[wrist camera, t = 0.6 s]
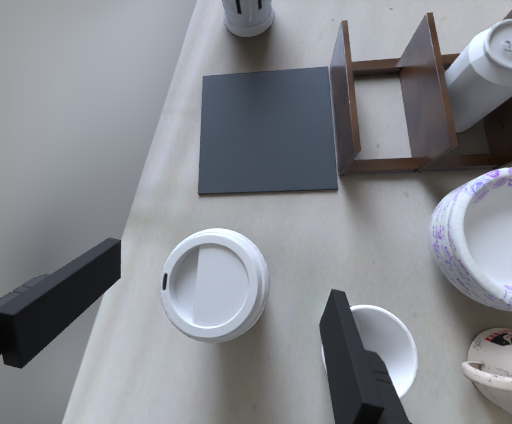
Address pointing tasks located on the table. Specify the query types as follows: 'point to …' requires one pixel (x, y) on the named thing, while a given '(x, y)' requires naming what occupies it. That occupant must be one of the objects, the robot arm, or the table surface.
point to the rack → (413, 109)
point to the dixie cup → (387, 344)
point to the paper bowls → (477, 238)
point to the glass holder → (248, 16)
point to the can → (481, 76)
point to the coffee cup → (215, 285)
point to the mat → (267, 132)
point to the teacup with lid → (492, 366)
